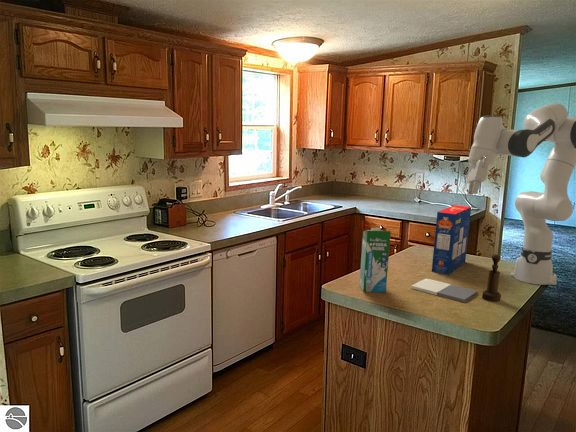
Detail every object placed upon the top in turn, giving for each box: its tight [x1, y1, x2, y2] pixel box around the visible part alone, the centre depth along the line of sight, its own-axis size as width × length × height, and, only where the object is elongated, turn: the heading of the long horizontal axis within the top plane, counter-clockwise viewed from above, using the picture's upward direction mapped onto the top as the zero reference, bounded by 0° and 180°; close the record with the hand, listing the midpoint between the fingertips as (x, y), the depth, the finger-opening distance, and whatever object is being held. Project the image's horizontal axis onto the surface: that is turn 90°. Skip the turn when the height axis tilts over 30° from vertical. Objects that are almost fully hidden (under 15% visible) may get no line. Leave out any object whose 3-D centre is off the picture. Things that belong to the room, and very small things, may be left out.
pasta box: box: [431, 204, 472, 276], centre depth 226 cm, size 28×8×28 cm, turn 146°
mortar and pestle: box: [481, 253, 502, 303], centre depth 184 cm, size 7×6×18 cm
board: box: [410, 278, 479, 303], centre depth 193 cm, size 14×22×1 cm, turn 49°
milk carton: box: [359, 227, 392, 293], centre depth 190 cm, size 9×9×25 cm
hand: (472, 194), depth 178 cm, fingers open, 8 cm apart
